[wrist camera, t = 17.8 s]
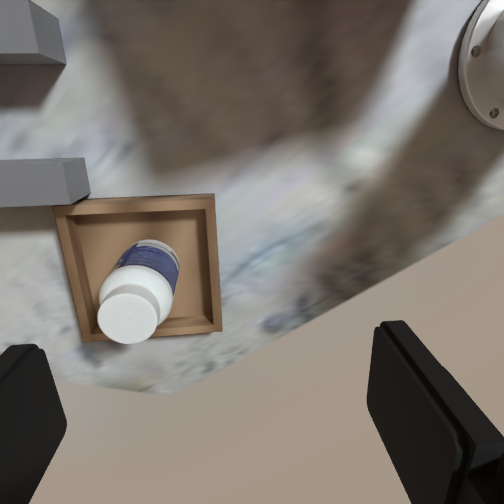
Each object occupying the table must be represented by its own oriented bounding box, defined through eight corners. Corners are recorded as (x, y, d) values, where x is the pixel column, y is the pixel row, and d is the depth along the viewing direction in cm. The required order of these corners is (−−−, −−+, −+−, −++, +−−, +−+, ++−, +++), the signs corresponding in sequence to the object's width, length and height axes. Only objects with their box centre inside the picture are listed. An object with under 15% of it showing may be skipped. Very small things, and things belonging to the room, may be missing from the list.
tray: (214, 193, 31) (214, 199, 29) (221, 317, 36) (222, 331, 34) (65, 199, 30) (52, 206, 28) (92, 327, 35) (83, 342, 32)
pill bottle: (124, 233, 31) (87, 278, 22) (184, 242, 32) (172, 290, 23) (119, 286, 33) (83, 348, 24) (176, 294, 34) (162, 357, 25)
